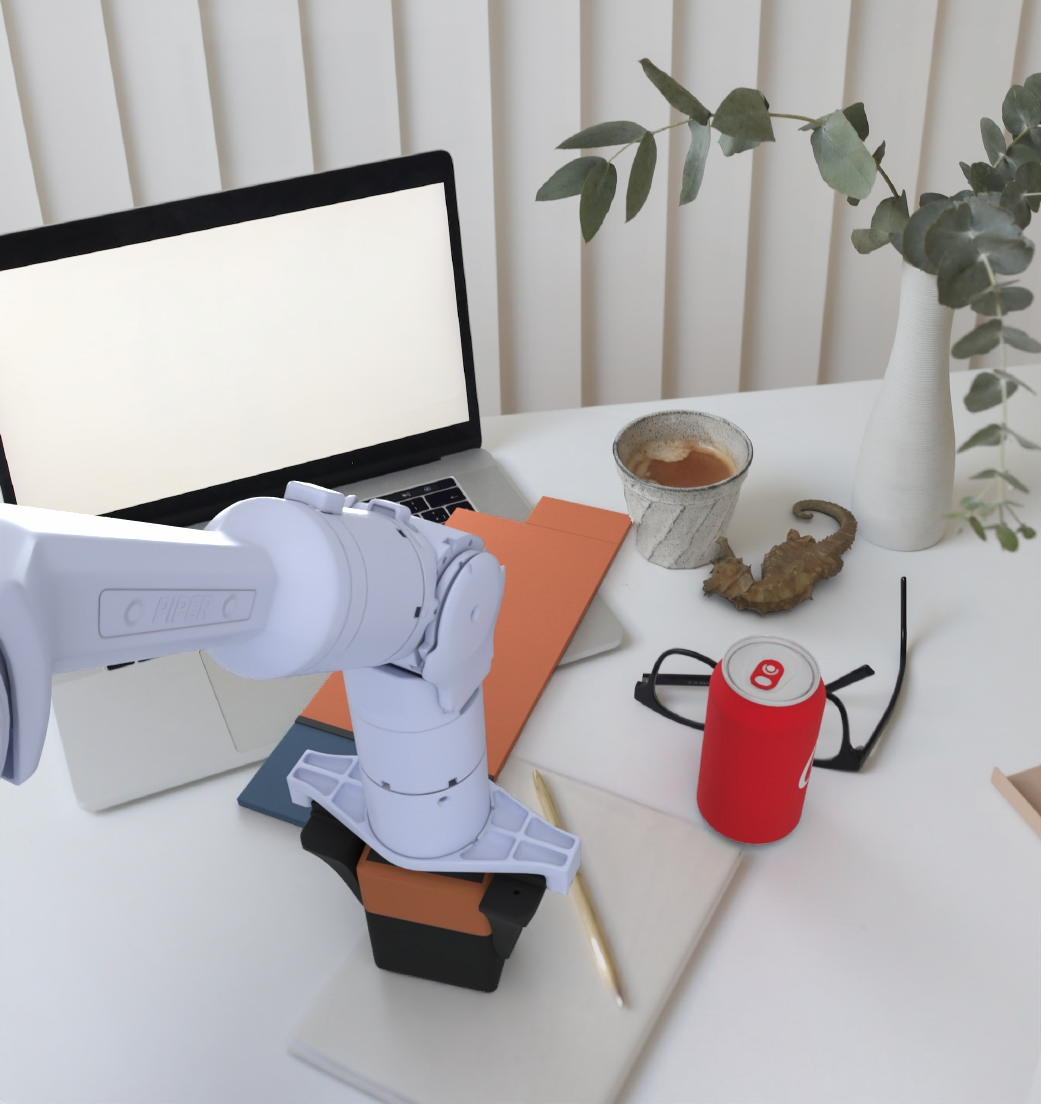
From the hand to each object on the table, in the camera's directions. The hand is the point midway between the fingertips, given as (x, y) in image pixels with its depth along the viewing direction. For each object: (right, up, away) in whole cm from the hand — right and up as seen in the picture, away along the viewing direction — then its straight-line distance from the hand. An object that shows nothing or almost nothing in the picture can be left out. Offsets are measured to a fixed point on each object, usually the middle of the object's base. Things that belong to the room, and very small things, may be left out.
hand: (442, 917), depth 56 cm
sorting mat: (0, +13, +20) cm, 24 cm away
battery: (0, -2, +2) cm, 3 cm away
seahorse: (+24, +18, +27) cm, 40 cm away
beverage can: (+18, +3, +9) cm, 20 cm away
